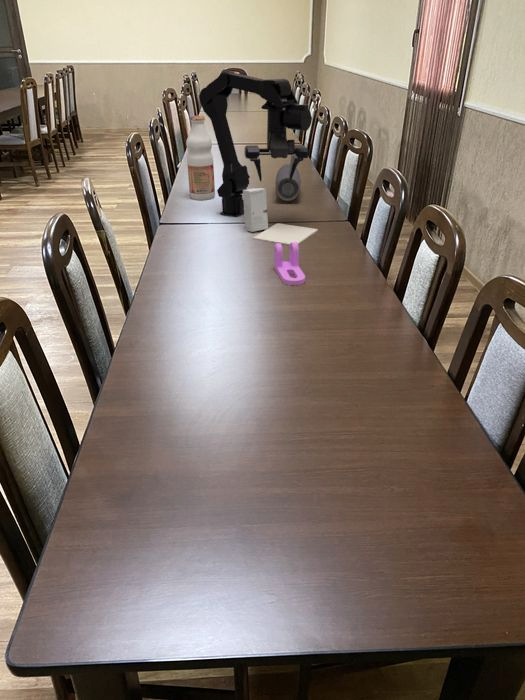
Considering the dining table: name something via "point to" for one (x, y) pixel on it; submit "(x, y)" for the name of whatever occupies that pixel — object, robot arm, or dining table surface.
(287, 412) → the dining table surface
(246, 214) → the skincare box
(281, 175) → the bluetooth speaker
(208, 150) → the fruit juice
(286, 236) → the rubber mat
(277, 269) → the bracket
